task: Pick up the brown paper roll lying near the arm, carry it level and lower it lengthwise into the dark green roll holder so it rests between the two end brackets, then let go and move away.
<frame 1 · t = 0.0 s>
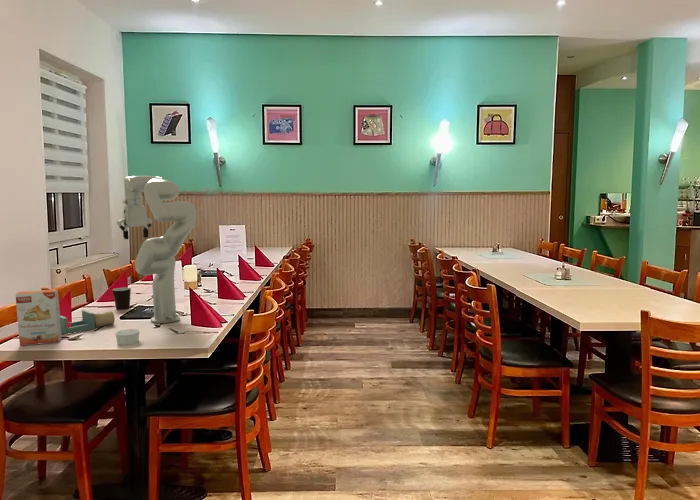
hand: (136, 238, 265), 37 cm above the table, tool pointing down, fingers open, 9 cm apart
paper roll: (103, 325, 245), on the table
ramekin: (128, 342, 218), on the table
cracker box: (41, 343, 220), on the table
coffee mug: (124, 308, 282), on the table
roll holder: (75, 329, 239), on the table
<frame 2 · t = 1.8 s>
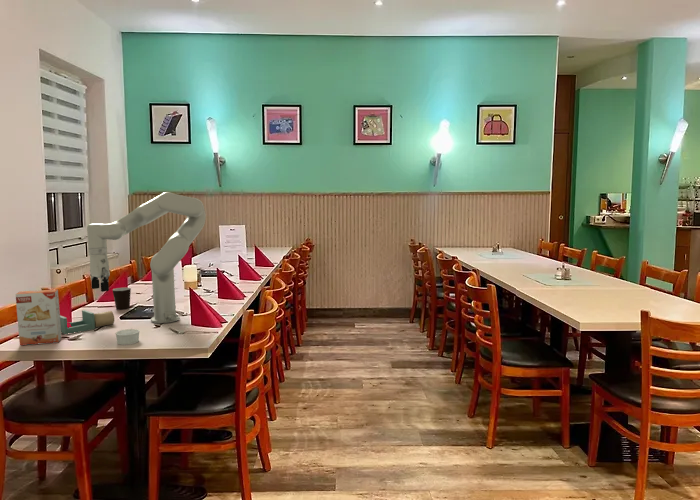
hand: (100, 289, 244), 16 cm above the table, tool pointing down, fingers open, 9 cm apart
nothing on the table moved.
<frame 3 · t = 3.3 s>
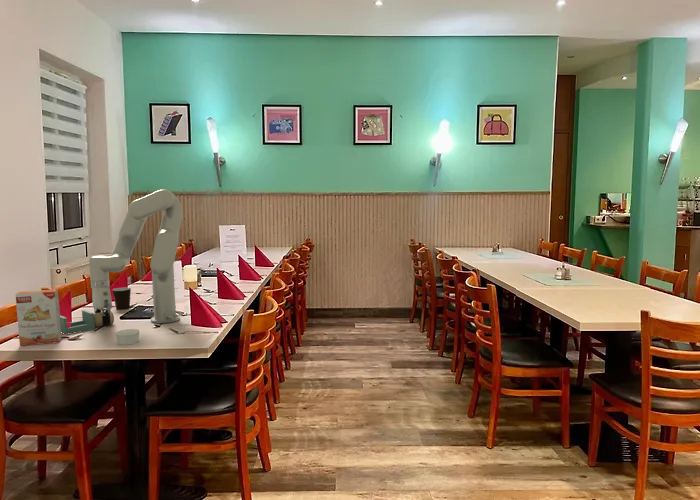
hand: (102, 322, 245), 1 cm above the table, tool pointing down, fingers open, 7 cm apart
paper roll: (103, 325, 245), on the table, tilted 11°, touching gripper
everything else where it was.
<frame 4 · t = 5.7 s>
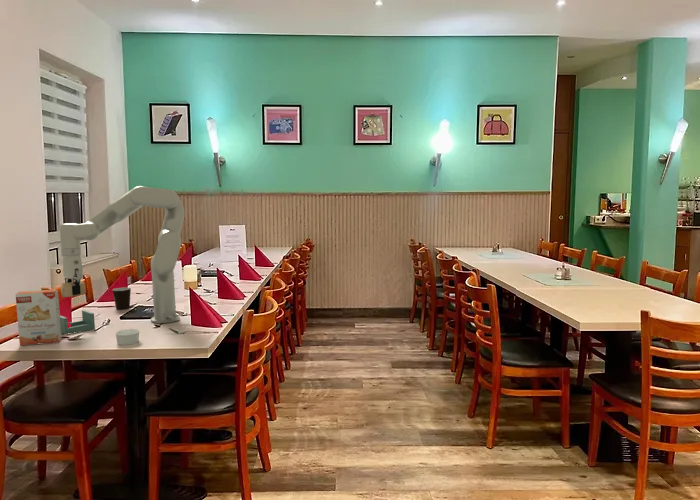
hand: (73, 293, 237), 16 cm above the table, tool pointing down, fingers closed on paper roll, 6 cm apart
paper roll: (73, 295, 237), point 15 cm above the table, touching gripper
everything else where it was.
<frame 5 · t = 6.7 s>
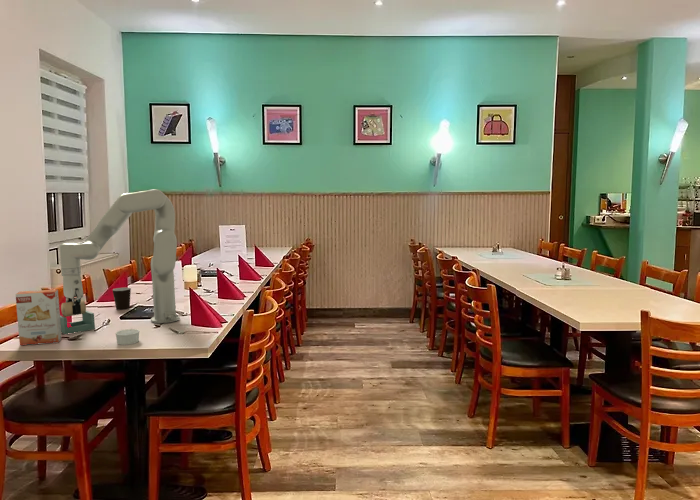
hand: (73, 312, 238), 8 cm above the table, tool pointing down, fingers closed on paper roll, 6 cm apart
paper roll: (74, 315, 238), point 7 cm above the table, touching gripper
everything else where it was.
when the fingers open (4 cm above the table, at t = 7.7 s): paper roll drops 2 cm, resting on roll holder.
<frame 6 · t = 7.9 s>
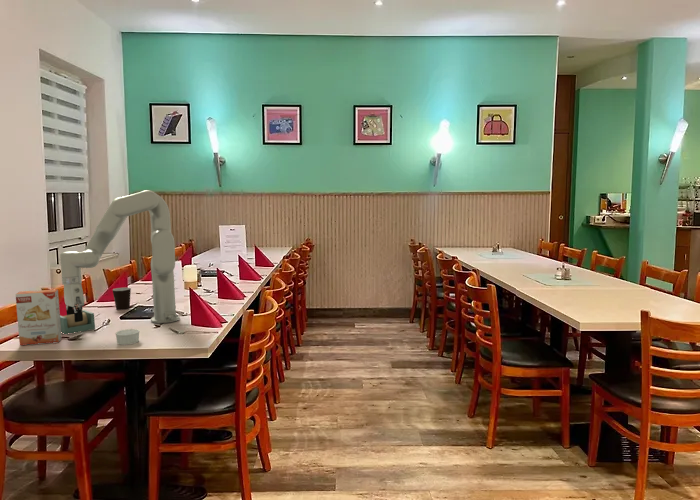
hand: (74, 319, 238), 4 cm above the table, tool pointing down, fingers open, 8 cm apart
paper roll: (75, 327, 239), point 1 cm above the table, touching roll holder
everything else where it was.
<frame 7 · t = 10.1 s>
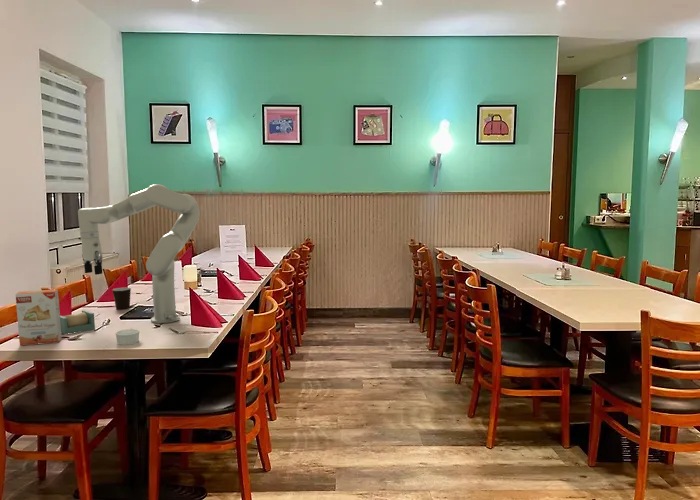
hand: (93, 273, 248), 23 cm above the table, tool pointing down, fingers open, 9 cm apart
nothing on the table moved.
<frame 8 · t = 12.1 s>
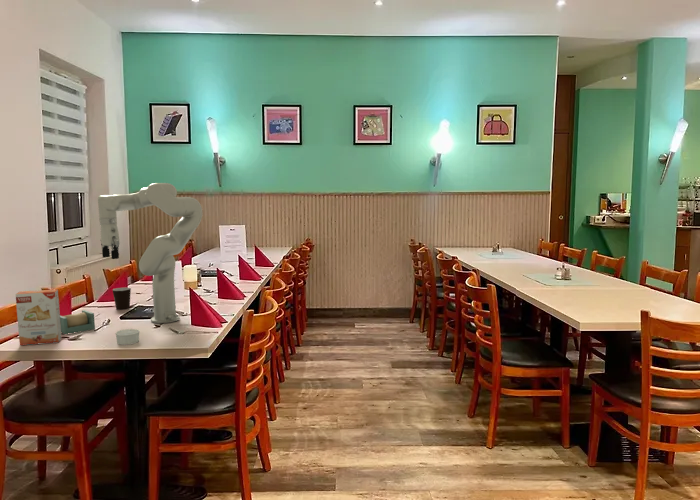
hand: (110, 257, 259), 28 cm above the table, tool pointing down, fingers open, 9 cm apart
nothing on the table moved.
at the end: paper roll inside the target area on the roll holder (0.1 cm from its centre), point 1.0 cm above the roll holder's base; paper roll touching roll holder; the gripper is holding nothing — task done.
